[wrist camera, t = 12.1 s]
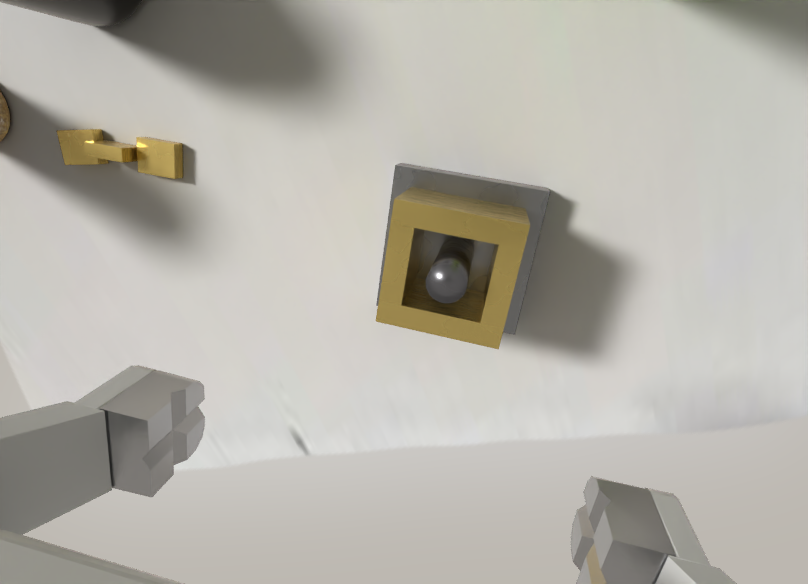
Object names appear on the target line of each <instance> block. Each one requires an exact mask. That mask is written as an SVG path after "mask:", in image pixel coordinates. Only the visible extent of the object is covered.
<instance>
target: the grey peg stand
mask: <svg viewBox="0 0 808 584" xmlns="http://www.w3.org/2000/svg"><path fill="white" fill-rule="evenodd" d="M411 187H415V188H420V189H425V190H431V191H436V192H441V193H446V194H452V195H457V196H462V197H468V198H473V199H478V200H483V201H489V202H494V203H499V204H504V205H510V206H515V207H520V208H525V209H526V212H527V215H528V219H529V222H530V228H529V232H528V236H527V240H526V244H525V248H524V252H523V256H522V260H521V264H520V267H519V271H518V275H517V279H516V283H515V287H514V291H513V295H512V299H511V303H510V306H509V310H508V314H507V318H506V322H505V326H504V330H503V332H505V333H510V334H515V330H516V326H517V322H518V318H519V314H520V310H521V306H522V302H523V298H524V294H525V290H526V286H527V282H528V278H529V274H530V270H531V266H532V262H533V258H534V254H535V250H536V246H537V242H538V238H539V234H540V230H541V226H542V222H543V218H544V214H545V210H546V206H547V202H548V199H549V195H550V191H549V189H548V188H545V187H539V186H533V185H527V184H521V183H515V182H509V181H503V180H498V179H492V178H486V177H480V176H474V175H468V174H462V173H456V172H451V171H445V170H439V169H433V168H427V167H421V166H415V165H409V164H404V163H400V164H397V165H395V172H394V179H393V186H392V194H391V201H390V209H389V216H388V223H387V231H386V238H385V246H384V253H383V260H382V268H381V275H380V283H379V290H378V297H377V305H376V306H378V303H379V296H380V290H381V283H382V276H383V270H384V263H385V256H386V250H387V243H388V237H389V230H390V223H391V217H392V210H393V203H394V199H395V198H396V197H398V196H399V195H400V194H402V193H403V192H405V191H406V190H408V189H409V188H411ZM494 246H495V244H492V243H487V242H482V241H477V240H472V239H467V238H462V237H457V236H452V235H448V234H443V233H438V232H433V231H428V230H425V232H424V238H423V243H422V249H421V255H420V260H419V266H418V272H417V277H416V278H419V279H423V280H426V289H427V291H428V293H429V295H430V296H431V297H432V298H433V299H434V300H436V301H438V302H441V303H453V302H456V301H458V300H459V299H460V298H462V296H463V295H464V294H465V292H466V289H470V290H475V291H479V292H484V289H485V284H486V280H487V276H488V271H489V267H490V263H491V259H492V254H493V250H494Z"/></svg>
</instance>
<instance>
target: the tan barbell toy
mask: <svg viewBox="0 0 808 584" xmlns="http://www.w3.org/2000/svg"><path fill="white" fill-rule="evenodd" d="M57 135H58V139H59V143H60V147H61V151H62V155H63V159H64V163H65V165H90V164H107V163H109V162H108V160H111V161H117V162H122V163H123V162H133V161H138V172H140V173H146V174H151V175H157V176H162V177H167V178H173V179H177V178H183V149H182V143H177V142H171V141H165V140H160V139H154V138H148V137H136V138H137V146H136V145H130V144H125V143H119V142H113V141H104V139H103V135H102V130H101V129H91V130H59V131H57Z"/></svg>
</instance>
